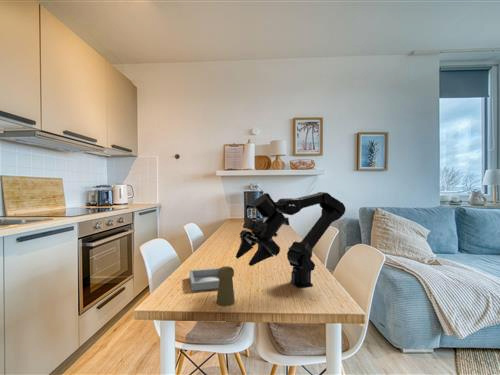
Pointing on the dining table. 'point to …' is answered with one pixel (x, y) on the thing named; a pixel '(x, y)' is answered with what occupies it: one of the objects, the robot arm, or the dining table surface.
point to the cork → (225, 287)
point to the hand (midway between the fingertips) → (242, 261)
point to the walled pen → (204, 279)
